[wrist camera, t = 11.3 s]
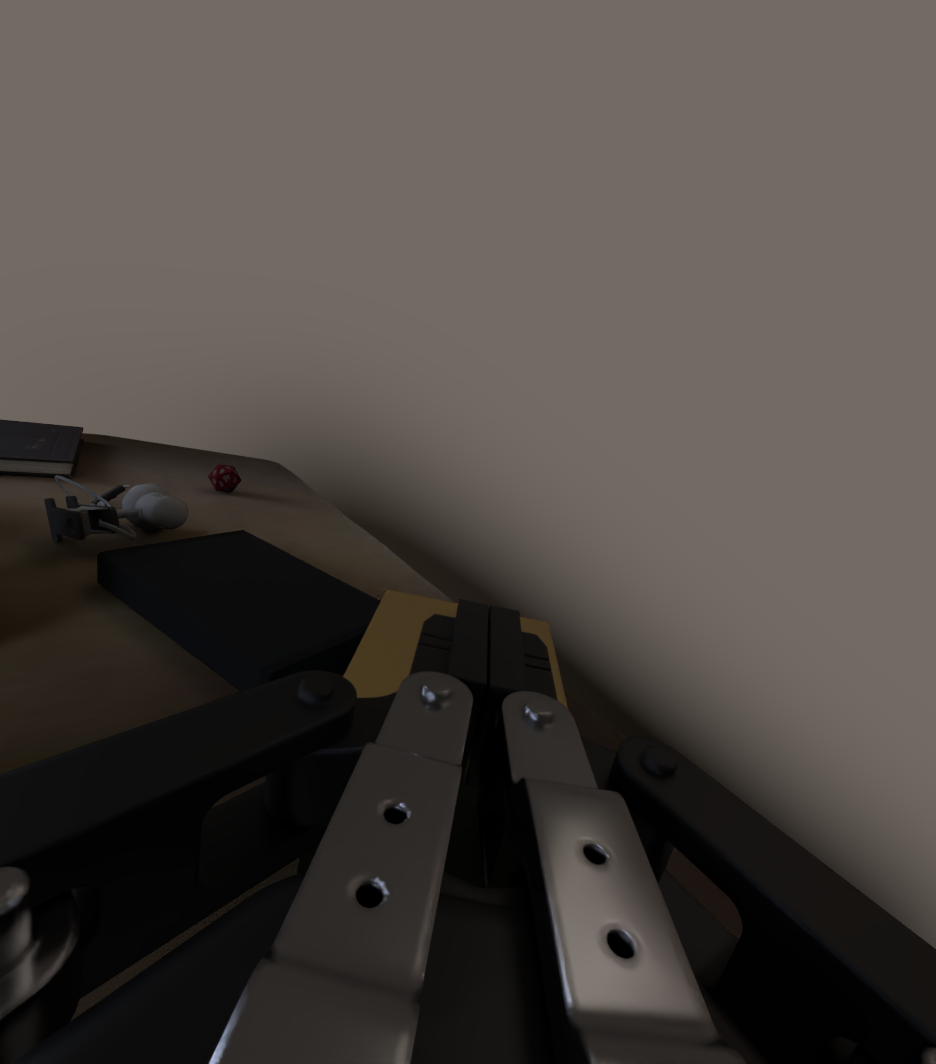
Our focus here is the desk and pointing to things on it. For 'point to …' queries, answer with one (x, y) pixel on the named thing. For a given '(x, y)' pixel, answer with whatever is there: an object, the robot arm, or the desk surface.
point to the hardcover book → (39, 449)
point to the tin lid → (413, 643)
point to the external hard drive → (241, 605)
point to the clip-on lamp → (115, 512)
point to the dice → (224, 478)
